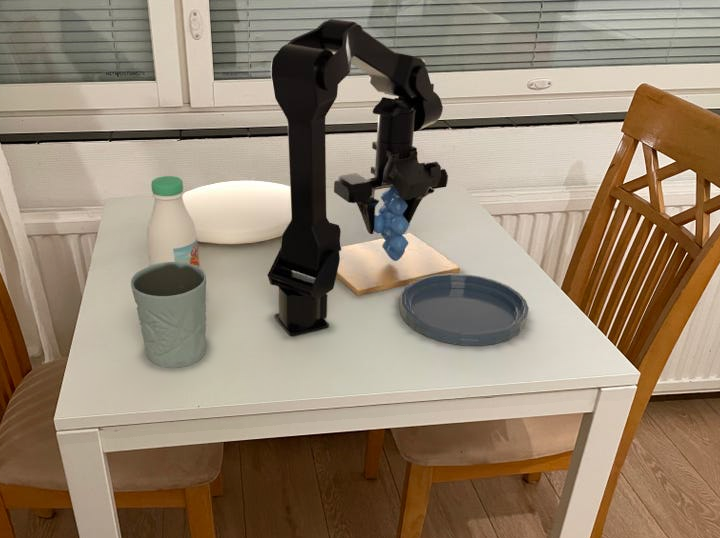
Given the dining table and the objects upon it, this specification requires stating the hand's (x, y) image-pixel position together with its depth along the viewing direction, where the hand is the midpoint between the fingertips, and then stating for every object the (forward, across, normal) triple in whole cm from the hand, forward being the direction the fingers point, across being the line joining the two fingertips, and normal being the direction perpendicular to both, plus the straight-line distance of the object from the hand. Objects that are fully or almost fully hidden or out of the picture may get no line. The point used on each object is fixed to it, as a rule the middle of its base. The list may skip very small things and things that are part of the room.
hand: (387, 230), depth 128 cm
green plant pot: (+7, -42, -12) cm, 44 cm away
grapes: (+5, 0, 0) cm, 5 cm away
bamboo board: (+7, 0, 0) cm, 7 cm away
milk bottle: (+7, -37, +3) cm, 38 cm away
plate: (+7, -17, +27) cm, 33 cm away
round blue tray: (+7, +2, -20) cm, 21 cm away
